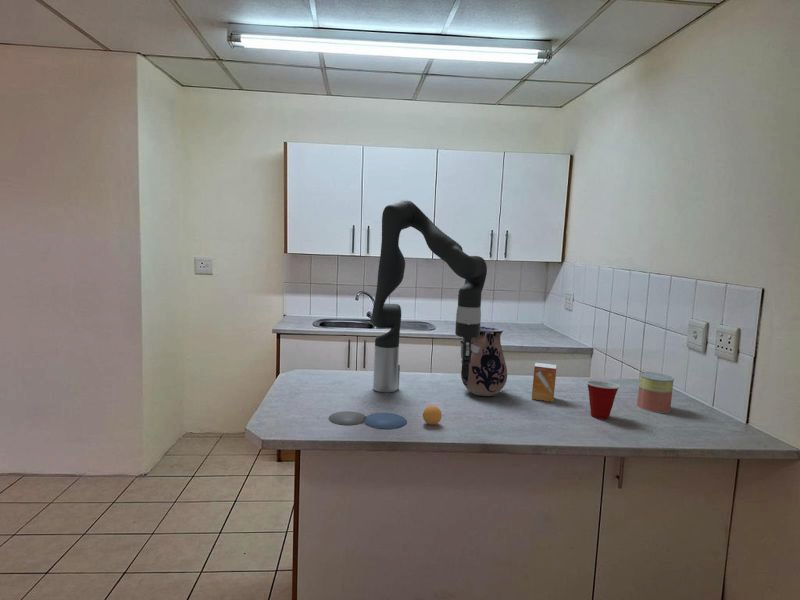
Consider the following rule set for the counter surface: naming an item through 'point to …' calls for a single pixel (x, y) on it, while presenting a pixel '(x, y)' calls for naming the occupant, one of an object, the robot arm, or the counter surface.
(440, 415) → the ball
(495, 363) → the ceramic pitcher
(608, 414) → the plastic cup
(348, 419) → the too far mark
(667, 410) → the canned food
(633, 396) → the counter surface
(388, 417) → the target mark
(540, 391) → the small box
